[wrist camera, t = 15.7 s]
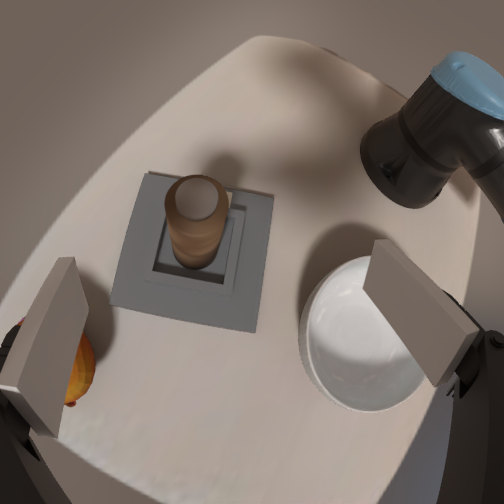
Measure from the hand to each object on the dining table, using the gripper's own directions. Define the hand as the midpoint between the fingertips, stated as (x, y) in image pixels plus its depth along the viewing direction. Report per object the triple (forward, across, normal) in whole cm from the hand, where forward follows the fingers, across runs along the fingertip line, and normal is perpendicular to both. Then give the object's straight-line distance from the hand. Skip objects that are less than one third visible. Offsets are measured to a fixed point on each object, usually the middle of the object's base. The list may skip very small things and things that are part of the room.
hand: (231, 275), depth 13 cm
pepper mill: (+20, -1, -9) cm, 22 cm away
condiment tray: (+20, -1, -10) cm, 23 cm away
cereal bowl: (+12, +16, -19) cm, 28 cm away
